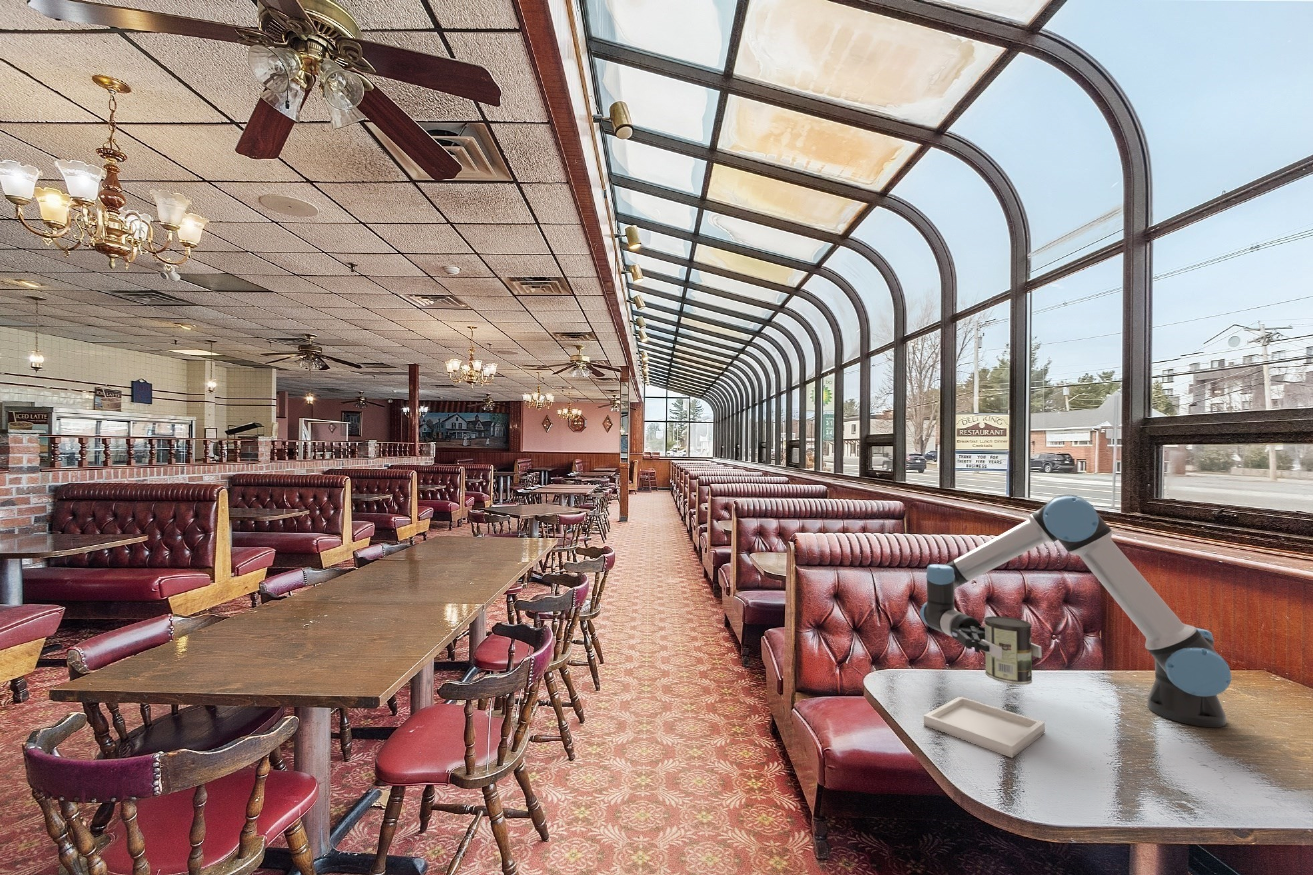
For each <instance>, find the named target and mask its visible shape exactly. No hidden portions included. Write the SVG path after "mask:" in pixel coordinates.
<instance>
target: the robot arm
mask: <svg viewBox="0 0 1313 875" xmlns="http://www.w3.org/2000/svg"><path fill="white" fill-rule="evenodd" d="M1112 536H1113V530H1112V529H1111V528H1110V526H1109V525H1108V524H1107V523H1106V521H1105V520H1104V519H1103V518H1102V517H1101V516H1100V514H1098V512H1097V511H1096V509H1095V507H1094V506H1093V505H1092V504H1091V503H1090V502H1089V501H1087V500H1086V499H1084V498H1083V497H1080V496H1077V495H1074V494H1061V495H1058V496H1055V497H1054V498H1051V499H1050V500H1049V501H1048V502H1047V503H1046V504H1044V506H1042V507H1041V508H1039V509H1037V510H1036V511H1034V512H1032V513H1031V514H1030V515H1029V518H1028V519H1027V520H1026V521H1023V522H1021V523H1019V524H1018V525H1015V526H1014V527H1013V528H1010V529H1009V530H1006V531H1005V532H1003V533H1001V534H999V535H997V536H996V537H993V538H992V539H990V540H988V541H985V543H982V544H981V545H979V546H977V547H976V548H973V549H971V550H970V551H967V552H966V553H964V554H962V555H961V556H959V557H956V558H954V559H953V560H952V561H951V560H950V561H948V563H946V564H937V563H936V564H935V563H934V564H928V565H927V567H926V575H925V577H926V602H925V603H923V604H922V606H921V608H920V609H919V617H920V619H921V621H922V622H923V623H924V624H925V625H926V626H928V627H930V628H931V629H933V630H935V631H938V632H940V633H942V634H944V635H947V636H949V637H951V638H952V639H953V640H957V641H958V642H959V643H960V644H961V645H963V647H965V649H968V650H972V649H973V648H974V653H979V654H980V652H981V651H982V652H984V653H985V652H986V653H988V654H990V655H992V656H994V657H996V658H998V659H1002V648H1001V647H999V646H997V645H995V644H992V643H990V642H988V641H986V640H985V626H982V624H981V623H980V622H979V620H978V619H977V618H975V617H972V616H970V615H967V614H966V613H964V612H961V611H958V610H955V590H956V589H957V588H959V587H961V586H962V585H965V584H966V583H968V582H970V581H971V580H974V579H976V578H978V577H979V576H982V575H984V574H985V573H987V572H990V571H991V570H994V569H996V568H998V567H1000V566H1001V565H1003V564H1005V563H1007V562H1010V561H1012V560H1014V559H1015V558H1017V557H1019V556H1021V555H1023V554H1025V553H1027V552H1029V551H1030V550H1031V551H1032V550H1033V549H1034V548H1036V547H1039V546H1041V545H1042V544H1045V543H1046V542H1049V543H1054V542H1057V541H1058V542H1059V543H1060V544H1061V545H1062V547H1063V548H1064V549H1065V550H1066V552H1067V553H1069V554H1072V555H1076V556H1078V557H1079V558H1080V559H1081V561H1082V562H1083V563H1084V564H1085V565H1086V567H1087V568H1088V569H1089V570H1090V571H1091V573H1092V574H1093V575H1094V577H1095V578H1096V579H1097V580H1098V581H1099V582H1100V584H1101V585H1102V586H1103V587H1104V589H1105V590H1106V591H1107V592H1108V593H1109V595H1110V596H1111V597H1112V598H1113V600H1114V601H1115V602H1116V603H1117V604H1118V605H1119V607H1120V608H1121V609H1122V611H1124V613H1125V614H1126V615H1127V616H1128V618H1129V619H1130V620H1131V622H1132V623H1133V624H1134V625H1135V626H1136V627H1137V628H1138V630H1139V631H1140V632H1141V633H1142V635H1143V636H1144V637H1145V639H1146V640H1145V645H1144V646H1145V649H1146V650H1147V651H1148V653H1149V654H1151V656H1152V657H1153V660H1154V674H1155V675H1154V676H1155V679H1154V682H1153V685H1152V686H1151V690H1150V692H1149V693H1148V694H1149V695H1148V696H1147V708H1148V709H1149V711H1151V712H1152V713H1154V714H1156V715H1158V716H1161V717H1163V718H1166V719H1168V720H1171V721H1175V722H1179V723H1182V724H1187V725H1191V726H1197V727H1203V728H1222V726H1223V727H1225V726H1226V725H1227V719H1226V718H1227V717H1226V712H1225V710H1224V708H1223V706H1222V703H1221V701H1220V699H1219V696H1218V695H1220V694H1222V693H1223V692H1225V691H1226V690H1227V689H1228V688H1229V686H1230V684H1231V682H1232V673H1231V667H1230V665H1229V664H1228V661H1226V660H1225V659H1224V658H1223V657H1222V656H1221V655H1220V654H1219V653H1218V652H1217V651H1216V649H1215V647H1214V643H1215V639H1214V637H1213V633H1212V632H1211V631H1209V630H1208V629H1203V628H1197V627H1195V626H1194V625H1191V624H1187V623H1183V622H1182V621H1181V619H1180V618H1179V617H1178V616H1177V614H1176V613H1175V612H1174V611H1173V610H1172V609H1171V608H1170V607H1169V605H1168V604H1167V603H1166V602H1165V601H1164V599H1163V598H1162V597H1161V596H1160V595H1159V594H1158V592H1157V591H1156V590H1155V589H1154V588H1153V586H1152V585H1151V584H1150V583H1149V582H1148V580H1146V578H1145V577H1144V576H1143V575H1142V573H1140V571H1139V570H1138V569H1137V568H1136V566H1135V565H1134V564H1133V563H1132V561H1130V560H1129V558H1128V557H1127V556H1126V555H1125V554H1124V553H1123V551H1122V550H1121V549H1120V548H1119V547H1118V546H1117V544H1116V543H1115V542H1114V541H1113V539H1112ZM1042 653H1043V652H1042V646H1040V645H1038V644H1035V643H1033V642H1031V656H1033V657H1035V658H1039V659H1042V656H1043V654H1042Z"/></svg>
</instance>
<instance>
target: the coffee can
mask: <svg viewBox="0 0 1313 875" xmlns="http://www.w3.org/2000/svg"><path fill="white" fill-rule="evenodd" d="M983 620H984V621H983V622H984V627H985V640H986V641H988V642H990V643H992V644H995V645H997V646H999V647H1001V648H1002V659H998V658H996V657H994V656H992V655H990V654H988V653H986V652H984V653H985V656H984V657H985V675H986V676H987V677H988V678H990V679H992V680H994V681H998V682H1000V683H1005V684H1011V685H1018V686H1019V685H1020V686H1021V685H1024V686H1025V685H1030V684H1032V683H1033V678H1032V677H1033V675H1032V671H1033V668H1032V655H1031V643H1032V624H1031V622H1029V621H1027V620H1023V619H1020V618H1015V617H1008V616H999V615H998V616H997V615H993V616H985V617H984V619H983Z"/></svg>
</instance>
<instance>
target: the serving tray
mask: <svg viewBox="0 0 1313 875" xmlns="http://www.w3.org/2000/svg"><path fill="white" fill-rule="evenodd" d="M924 725H925V726H924ZM923 726H924V727H926V726H928V727H927V728H929V727H930V729H932V728H933V729H932V730H934V729H935V731H937V730H939V731H938V732H940V731H941V732H940V733H943V732H945V733H947V734H946V735H948V734H950V735H949V736H951V735H952V736H951V737H954V736H955V737H954V738H956V737H957V739H959V738H961V739H960V740H962V739H963V740H962V741H964V740H966V741H965V742H967V741H968V743H970V742H971V744H973V745H975V744H976V746H978V747H982V748H984V749H986V750H988V751H989V750H990V751H992V752H995V753H998V754H1000V755H1003V756H1007V758H1008V757H1009V758H1011V759H1013V758H1014V757H1016V756H1017V755H1019V753H1021V752H1022V751H1024V750H1025V749H1026V748H1027V747H1029V746H1030V745H1032V743H1034V742H1035V741H1036V740H1037V739H1039V738H1041V735H1042V734H1043V735H1045V733H1044V732H1046V727H1045V726H1046V724H1045V722H1044V721H1040V720H1038V719H1035V718H1032V717H1028V716H1026V715H1025V716H1024V715H1021V714H1019V713H1015V712H1014V711H1009V710H1005V709H1003V708H1000V707H996V706H993V705H990V704H986V703H983V702H980V701H978V700H973V699H970V698H967V697H964V696H961V695H959V696H958V697H956V698H954V699H952V700H950V701H948V702H946V703H945V704H943V705H941V706H939V707H937V708H935V709H933V710H930V711H929V712H927V713H926V714H923ZM945 733H944V734H945Z"/></svg>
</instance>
